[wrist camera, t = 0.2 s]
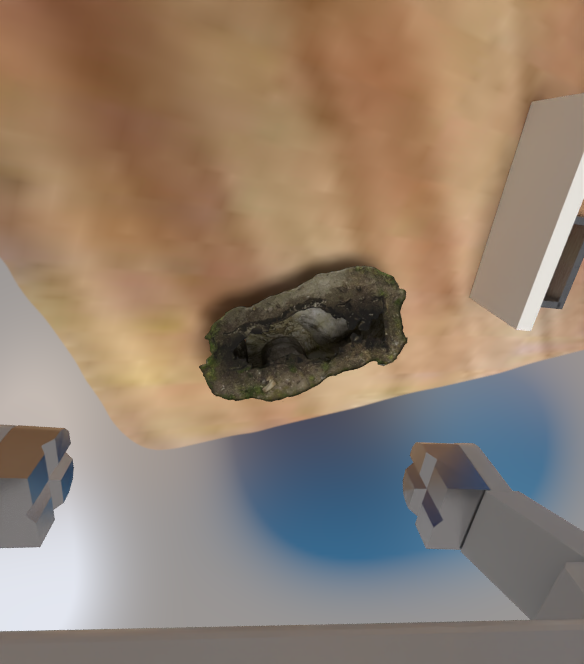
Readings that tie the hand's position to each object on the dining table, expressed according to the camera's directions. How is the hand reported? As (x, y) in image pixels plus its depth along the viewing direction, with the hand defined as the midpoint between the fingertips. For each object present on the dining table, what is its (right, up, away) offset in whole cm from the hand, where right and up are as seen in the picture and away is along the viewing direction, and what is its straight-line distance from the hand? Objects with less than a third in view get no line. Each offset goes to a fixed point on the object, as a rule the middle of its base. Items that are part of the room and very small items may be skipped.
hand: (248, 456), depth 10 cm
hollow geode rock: (+2, +5, +51) cm, 51 cm away
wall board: (+30, +20, +46) cm, 59 cm away
